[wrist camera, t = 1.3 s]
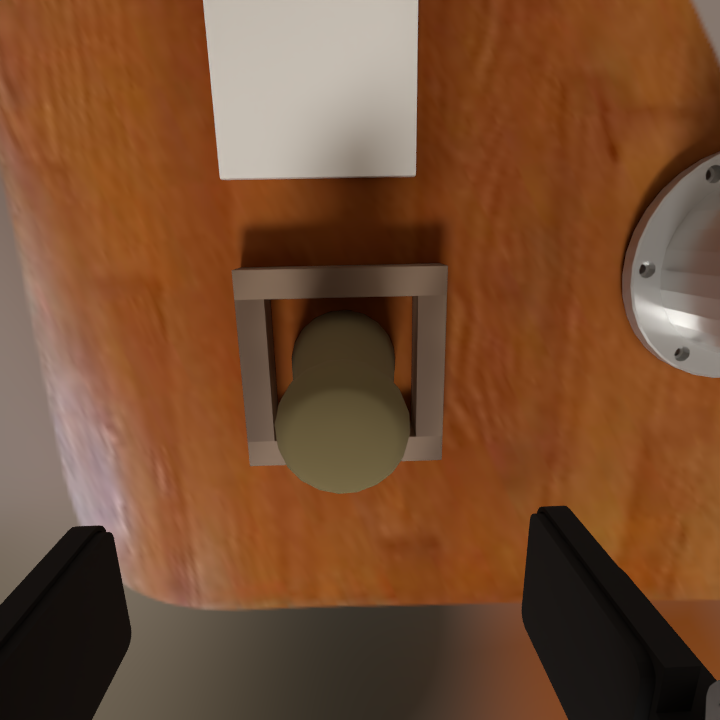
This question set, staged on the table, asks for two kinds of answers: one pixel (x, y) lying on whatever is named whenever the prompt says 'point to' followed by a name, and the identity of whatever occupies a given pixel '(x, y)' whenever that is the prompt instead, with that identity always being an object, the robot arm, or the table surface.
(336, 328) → the cork
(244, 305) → the holder
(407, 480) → the table surface
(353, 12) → the coaster
